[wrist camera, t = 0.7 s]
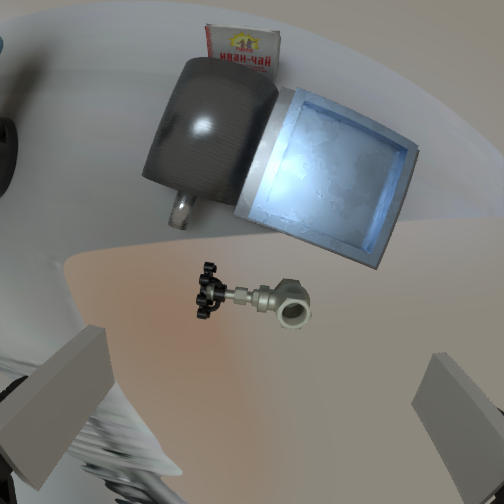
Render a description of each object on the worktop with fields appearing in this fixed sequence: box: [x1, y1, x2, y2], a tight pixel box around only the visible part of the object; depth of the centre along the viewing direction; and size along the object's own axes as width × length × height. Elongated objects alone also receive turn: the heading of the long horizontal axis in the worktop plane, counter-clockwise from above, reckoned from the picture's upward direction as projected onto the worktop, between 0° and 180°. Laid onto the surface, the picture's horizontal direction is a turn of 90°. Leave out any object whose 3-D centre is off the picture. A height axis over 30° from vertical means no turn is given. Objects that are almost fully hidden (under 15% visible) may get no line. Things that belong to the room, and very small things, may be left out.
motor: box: [142, 57, 419, 270], centre depth 26 cm, size 26×17×10 cm, turn 70°
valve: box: [196, 262, 312, 329], centre depth 31 cm, size 7×7×12 cm
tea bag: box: [205, 23, 281, 84], centre depth 24 cm, size 4×7×10 cm, turn 78°
